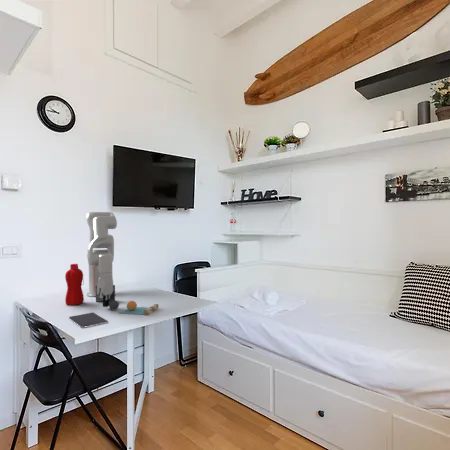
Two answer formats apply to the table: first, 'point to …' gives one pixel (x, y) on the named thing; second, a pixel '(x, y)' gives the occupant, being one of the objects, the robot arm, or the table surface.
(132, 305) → the orange ball
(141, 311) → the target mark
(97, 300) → the small box
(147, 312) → the stopper strip
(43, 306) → the table surface
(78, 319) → the notebook
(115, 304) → the dark gray ball
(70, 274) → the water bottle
